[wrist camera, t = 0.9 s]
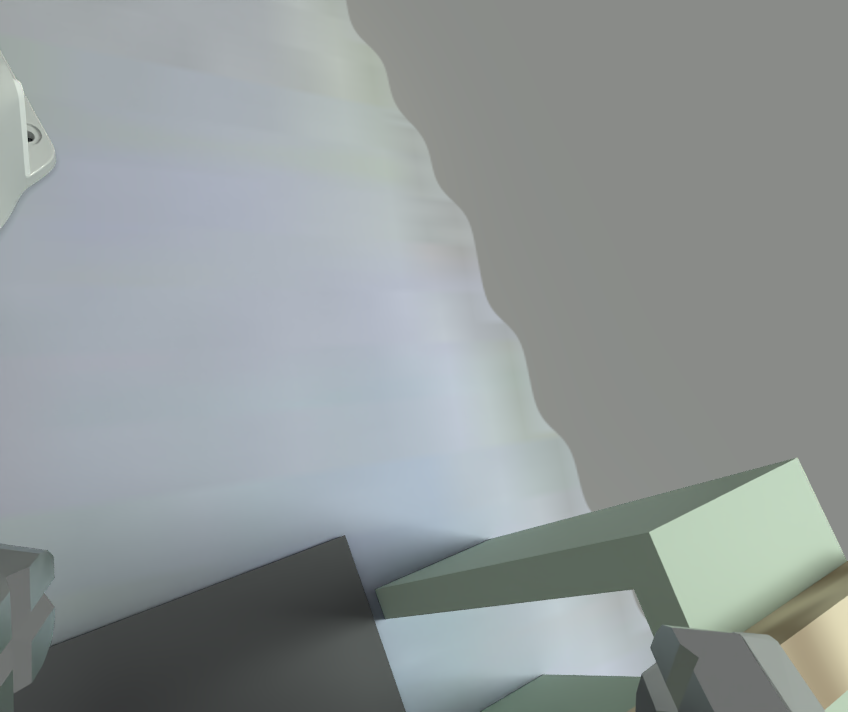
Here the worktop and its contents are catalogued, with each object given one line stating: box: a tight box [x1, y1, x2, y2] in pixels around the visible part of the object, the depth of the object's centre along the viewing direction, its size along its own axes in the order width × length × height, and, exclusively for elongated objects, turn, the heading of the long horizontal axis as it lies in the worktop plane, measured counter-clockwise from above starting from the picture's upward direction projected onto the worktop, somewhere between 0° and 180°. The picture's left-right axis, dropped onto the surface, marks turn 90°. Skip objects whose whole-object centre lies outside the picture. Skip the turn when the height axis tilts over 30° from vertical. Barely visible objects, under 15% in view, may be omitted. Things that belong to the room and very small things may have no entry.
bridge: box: [375, 458, 848, 712], centre depth 39 cm, size 12×10×26 cm
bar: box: [627, 561, 848, 712], centre depth 26 cm, size 19×2×2 cm, turn 113°
